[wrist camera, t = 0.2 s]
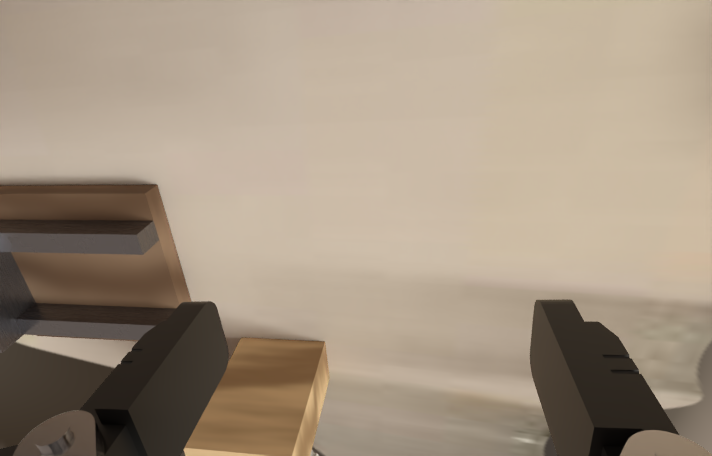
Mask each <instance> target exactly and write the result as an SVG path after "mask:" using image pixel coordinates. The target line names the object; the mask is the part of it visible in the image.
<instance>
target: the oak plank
mask: <svg viewBox="0 0 712 456" xmlns="http://www.w3.org/2000/svg"><path fill="white" fill-rule="evenodd" d="M328 382H329V370H328V362H327V354H326V346H325V342H322V341H302V340H282V339H261V338H241V339H240V341H239V343H238V345H237V347H236V349H235V351H234V353H233V354H232V356H231V358H230V360H229V362H228V365H227V368H226V371H225V373H224V375H223V377H222V379H221V381H220V383H219V384H218V386H217V388H216V390H215V392H214V394H213V396H212V397H211V399H210V401H209V403H208V405H207V407H206V409H205V410H204V412H203V414H202V416H201V418H200V420H199V422H198V423H197V425H196V427H195V429H194V431H193V433H192V435H191V436H190V438H189V440H188V442H187V444H186V446H185V448H184V449H183V450H184V452H185V455H186V456H310V454H311V450H312V446H313V442H314V438H315V434H316V430H317V426H318V422H319V418H320V414H321V410H322V406H323V402H324V398H325V394H326V390H327V386H328Z"/></svg>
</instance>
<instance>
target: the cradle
mask: <svg viewBox="0 0 712 456" xmlns="http://www.w3.org/2000/svg"><path fill="white" fill-rule="evenodd" d="M182 302H191V299H190V295H189V292H188V288H187V285H186V282H185V278H184V275H183V271H182V268H181V264H180V261H179V258H178V254H177V251H176V247H175V244H174V240H173V237H172V234H171V230H170V227H169V223H168V220H167V216H166V213H165V210H164V206H163V203H162V199H161V196H160V192H159V189H158V186H157V185H56V186H0V353H1V352H3V351H5V350H6V349H7V348H8V347H10V346H11V345H12V344H13V343H14V342H15V341H17V340H18V339H19V338H20V337H21V336H22V335H24V334H28V335H37V336H52V337H71V338H89V339H108V340H127V341H139V340H140V338H141V337H142V336H143V335H144V334H145V333H146V332H148V331H149V330H151V329H152V328H153V327H155V326H156V325H158V324H159V323H161V322H162V321H166V320H167V319H168V318H169V317H170V316H171V314H172V313H173V312H174V311H175V309H176V308H177V307H178V306H179V305H180V304H181V303H182Z"/></svg>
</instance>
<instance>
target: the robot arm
mask: <svg viewBox="0 0 712 456" xmlns="http://www.w3.org/2000/svg"><path fill="white" fill-rule="evenodd" d="M228 356H229V353H228V346H227V342H226V339H225V335H224V332H223V328H222V325H221V321H220V317H219V314H218V310H217V307H216V305H215V304H214V303H213V302H182V303H181V304H180V305H179V306H178V307H177V308H176V309H175V311H174V312H173V313H172V314H171V316H170V317H169V318H168V319H167V320H166V321H162V322H161V323H159V324H158V325H156V326H155V327H153V328H152V329H151V330H149V331H148V332H146V333H145V334H144V335H143V336H142V337H141V338H140V340H139V341H138V342H137V343H136V344H135V345H134V347H133V348H132V351H131V352H128V354H127V355H126V356H125V357H124V358H123V359H122V361H121V364H118V365H117V367H116V368H115V369H114V370H113V371H112V372H111V374H110V375H109V376H108V377H107V378H106V379H105V381H104V382H103V383H102V384H101V385H100V387H99V388H98V389H97V390H96V391H95V392H94V393H93V395H92V396H91V397H90V398H89V399H88V400H87V402H86V403H85V404H84V405H83V407H81V409H80V410H76V411H69V412H65V413H62V414H59V415H56V416H54V417H52V418H50V419H48V420H46V421H45V422H43V423H42V424H40V425H38V426H37V427H36V428H34V429H33V430H32V431H31V432H29V434H27V435H26V436H25V437H24V439H23V440H22V441H21V442H20V443H19V445H16V446H11V447H7V448H3V449H0V456H180V455H181V453H182V451H183V449H184V448H185V446H186V444H187V442H188V440H189V438H190V436H191V435H192V433H193V431H194V429H195V427H196V425H197V423H198V422H199V420H200V418H201V416H202V414H203V412H204V410H205V409H206V407H207V405H208V403H209V401H210V399H211V397H212V396H213V394H214V392H215V390H216V388H217V386H218V384H219V383H220V381H221V379H222V377H223V375H224V373H225V371H226V368H227V365H228ZM530 364H531V371H532V376H533V380H534V383H535V386H536V389H537V393H538V396H539V399H540V402H541V405H542V408H543V411H544V415H545V418H546V421H547V424H548V427H549V430H550V433H551V436H552V440H553V443H554V446H555V449H556V452H557V455H558V456H712V454H711V453H709V452H708V451H707V450H705V449H704V448H703V447H701V446H700V445H698V444H696V443H695V442H693V441H691V440H689V439H687V438H684V437H682V436H680V435H679V434H678V432H677V431H676V429H675V427H674V426H673V424H672V423H671V421H670V419H669V418H668V416H667V415H666V413H665V412H664V410H663V408H662V407H661V405H660V403H659V402H658V400H657V399H656V397H655V395H654V394H653V392H652V391H651V389H650V387H649V386H648V384H647V383H646V381H645V379H644V378H643V376H642V375H641V374H639V370H638V368H637V367H636V365H635V363H634V362H633V360H632V359H630V358H629V354H628V352H627V350H626V349H625V347H624V346H623V344H622V342H621V341H620V339H619V338H618V337H617V336H616V335H615V334H614V333H612V332H611V331H610V330H608V329H607V328H606V327H605V326H603V325H602V324H601V323H600V322H584V320H583V319H582V317H581V315H580V313H579V311H578V309H577V308H576V306H575V304H574V302H573V301H572V300H536V302H535V306H534V314H533V325H532V336H531V347H530Z"/></svg>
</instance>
